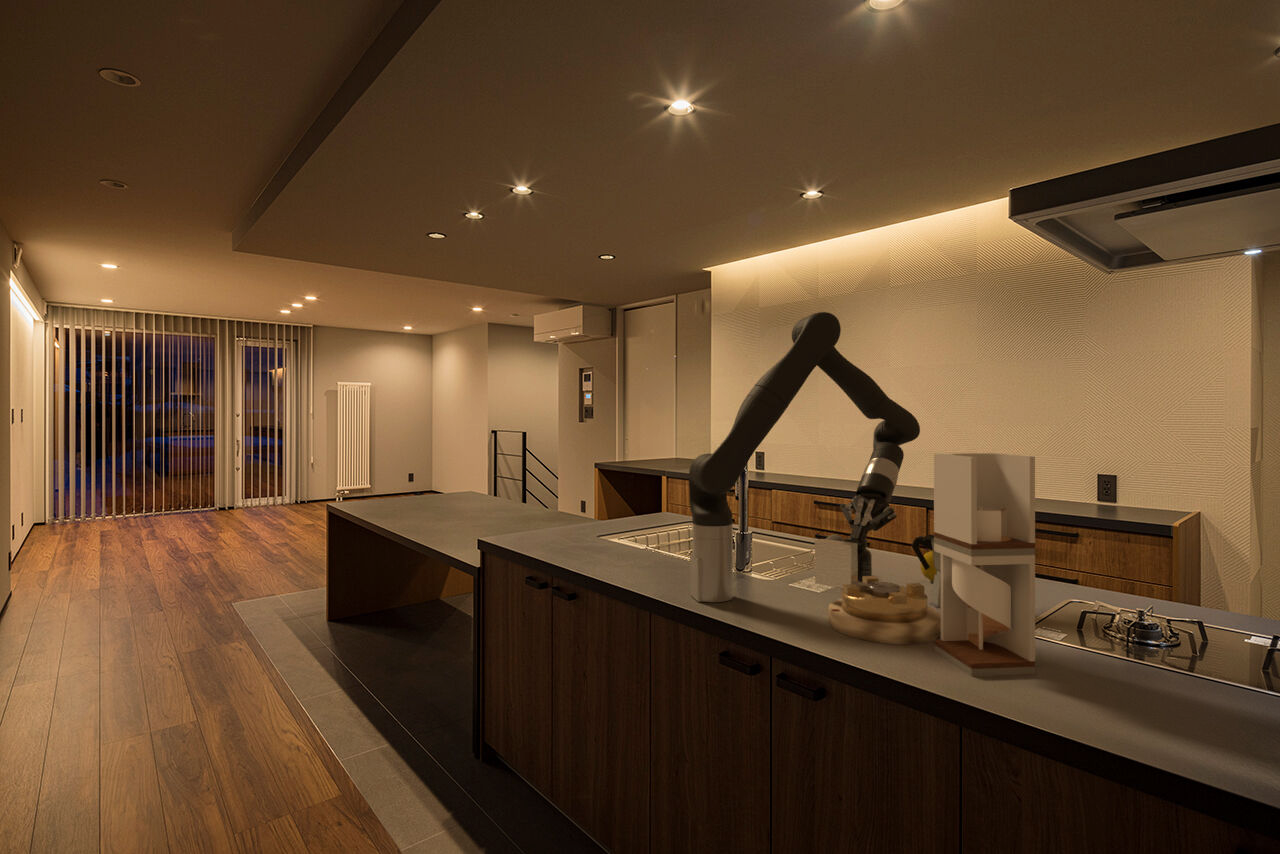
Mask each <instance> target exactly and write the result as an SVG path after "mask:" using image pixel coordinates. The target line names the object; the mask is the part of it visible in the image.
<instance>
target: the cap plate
mask: <svg viewBox="0 0 1280 854" xmlns="http://www.w3.org/2000/svg"><path fill="white" fill-rule="evenodd" d="M828 624H829V626H830V627H831V628H832V629H833V630H834V631H837V632H838V633H840V634H843V635H845V636H848V637H851V638H853V639H854V638H855V639H858V640H862V641H867V642H871V643H872V642H873V643H880V644H891V645H915V644H916V645H917V644H923V643H924V644H925V643H928V642H929V643H930V642H933V641H934V640H937V639H939V638H941V612H939V611H938V610H936V609H934V608H933V607H930V606H929V605H927V616H926V617H925V618H923V619H920V620H916V621H908V622H888V621H877V620H871V619H866V618H861V617H858V616H855V615H852V614H849V613H847V612H846V611H844V610H843V609H842V607H841V598H840V599H836V600H834V601H832V602H830V603H829V605H828Z"/></svg>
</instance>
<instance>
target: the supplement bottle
mask: <svg viewBox="0 0 1280 854" xmlns="http://www.w3.org/2000/svg"><path fill="white" fill-rule="evenodd" d="M867 541H868V539H867V537H866V538H865V541H864V542H863V543H861V545H857V560H858V582H863V576H873V569H872V567H873V563H872V557H873V556H872V552H871V551H870V550H869V549H868V548H867V547H868V542H867ZM845 542H851V543H853V542H852V540H851V538H850V536H848V537H846V540H845Z"/></svg>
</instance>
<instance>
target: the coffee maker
mask: <svg viewBox="0 0 1280 854" xmlns="http://www.w3.org/2000/svg"><path fill="white" fill-rule="evenodd" d="M919 546H922V547H924V548H926V549H928V550H929V551H933V559H934V566H935V569H936V570H937V573H936V574H935V576H934V582H932V588H931V595H930V600H929V601H930V602H929V604H930V605H931V604H932V606H933V605H934V606H935V608H936V607H937V608H936V609H939V608H941V553H938V552H935V551H934V534H928V535H925V536H923V535H919V536H916V537H915V538H914V539H913V541H912V543H911V548H912V550H913V551H914V553H915V555H916V557H917V558H918V560H919V561H920V565H921V564H922V565H923V567H924V569H925V570H927V569H928V568H930V566H929V564H928V563H927V561H926V559H925V557H924V554H923V552H922V551H921V549H920V548H919ZM934 606H933V607H934Z"/></svg>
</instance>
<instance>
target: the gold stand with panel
mask: <svg viewBox="0 0 1280 854" xmlns="http://www.w3.org/2000/svg"><path fill="white" fill-rule="evenodd" d="M814 584H816V585H817V584H818V585H822V586H828V587H834V588H839V589H840V588H841V590H840V591H841V592H840V594H841V595H840V596H841V597H840V599H841V607H842V609H843V610H844V611H846V612H847V613H849V614H852V615H855V616H858V617H861V618H866V619H871V620H877V621H888V622H908V621H916V620H920V619H923V618H925V617H926V616H927V606H928V596H927V594H925V585H924V584H922V583H919V582H912V583H911V582H910V583H909V582H908V583H907V582H906V586H904V585H899V584H896V583H893V582H889V581H879V578H878V577H876V576H874V575H872V576H863V582H858V560H857V543H851V542H846V541H845V542H843V541H835V540H827V539H826V538H820V539H815V540H814Z"/></svg>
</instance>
